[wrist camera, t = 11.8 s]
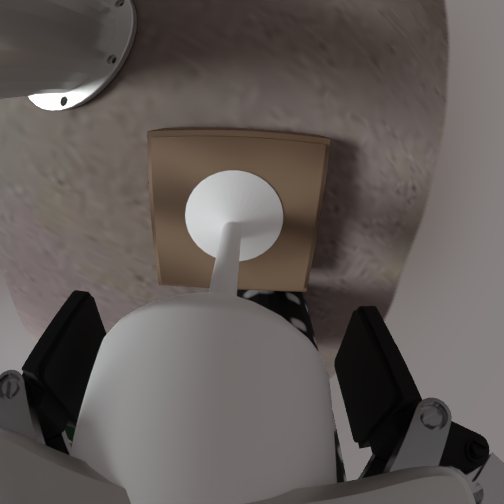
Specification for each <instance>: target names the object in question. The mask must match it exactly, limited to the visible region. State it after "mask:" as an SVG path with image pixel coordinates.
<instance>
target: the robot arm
mask: <svg viewBox="0 0 504 504" xmlns="http://www.w3.org/2000/svg"><path fill="white" fill-rule="evenodd" d="M136 30H137V15H136V10H135V6H134V4H133V2H132V0H0V99H3V98H12V97H21V96H28V97H29V98H30V100H31V101H32V102H33V103H34V104H35V105H36V106H38V107H40V108H42V109H44V110H48V111H63V110H69V109H73V108H75V107H78V106H80V105H83V104H84V103H86V102H88V101H89V100H91V99H93V98H94V97H95V96H96V95H97V94H99V93H100V92H101V91H102V90H103V89H104V88H105V87H106V86H107V85H108V84H109V83H110V82H111V81H112V80H113V79H114V77H115V76H116V74H117V73H118V72H119V70H120V69H121V68H122V66H123V64H124V62H125V60H126V58H127V57H128V55H129V53H130V50H131V47H132V45H133V42H134V38H135V34H136ZM115 59H116V62H115V63H114V61H115ZM105 336H106V332H105V329H104V326H103V324H102V321H101V318H100V315H99V312H98V309H97V306H96V303H95V300H94V298H93V297H92V296H91V295H90V293H89V292H85V291H77V290H76V291H74V292H72V294H71V295H70V296H69V298H68V299H67V300H66V302H65V303H64V305H63V306H62V307H61V309H60V310H59V311H58V313H57V314H56V316H55V317H54V319H53V320H52V321H51V323H50V324H49V326H48V327H47V329H46V330H45V332H44V333H43V335H42V336H41V338H40V339H39V341H38V342H37V344H36V346H35V347H34V349H33V351H32V352H31V354H30V355H29V357H28V359H27V360H26V362H25V364H24V365H23V367H22V370H23V374H22V375H21V374H20V373H19V372H18V371H15V370H8V371H5V372H3V373H2V374H1V375H0V504H131V503H130V500H129V497H128V494H127V492H126V489H124V488H122V487H120V486H118V485H116V484H114V483H112V482H110V481H109V480H108V479H106V478H105V477H103V476H102V475H101V474H99V473H98V472H97V471H95V470H94V469H92V468H91V467H90V466H89V465H88V464H87V463H86V462H85V461H83V460H80V459H78V458H75V457H72V456H70V452H71V445H70V443H69V440H68V437H67V435H66V432H65V427H66V425H68V426H71V427H73V428H76V425H77V421H78V417H79V413H80V410H81V406H82V402H83V399H84V395H85V392H86V388H87V385H88V382H89V379H90V375H91V372H92V369H93V366H94V363H95V360H96V357H97V354H98V351H99V349H100V346H101V343H102V341H103V338H104V337H105ZM335 370H336V374H337V377H338V381H339V385H340V389H341V392H342V396H343V400H344V404H345V408H346V412H347V416H348V419H349V424H350V428H351V432H352V436H353V439H354V441H355V442H358V444H359V448H365V447H370V446H371V450H372V453H373V455H372V456H371V458H370V460H369V462H368V463H367V465H366V467H365V469H364V470H363V472H362V473H361V475H360V477H359V478H358V479H357V480H352V481H347V482H341V483H335V484H328V485H322V486H314V487H306V488H296V489H293V490H291V491H288V492H286V493H283V494H281V495H278V496H276V497H273V498H269V499H265V500H261V501H256V502H251V503H246V504H504V463H503V462H502V461H501V460H500V459H499V458H498V457H497V456H496V455H495V454H493V453H491V454H489V445H488V443H487V440H486V439H485V438H484V437H483V436H481V435H480V434H478V433H476V432H473V431H471V430H469V429H467V428H465V427H463V426H461V425H459V424H457V423H454V422H452V421H451V412H450V410H449V408H448V406H447V405H446V404H445V403H444V402H443V401H441V400H439V399H437V398H427V399H424V400H422V398H421V396H420V394H419V391H418V389H417V387H416V385H415V383H414V380H413V378H412V376H411V374H410V372H409V370H408V367H407V365H406V363H405V361H404V359H403V357H402V355H401V353H400V351H399V349H398V347H397V345H396V344H395V342H394V340H393V338H392V336H391V334H390V332H389V330H388V328H387V326H386V325H385V323H384V321H383V319H382V317H381V315H380V313H379V311H378V310H377V308H376V307H375V306H360V307H359V308H358V309H357V310H355V311H354V312H353V314H352V317H351V319H350V322H349V325H348V328H347V330H346V333H345V336H344V338H343V341H342V343H341V346H340V348H339V351H338V353H337V356H336V358H335Z"/></svg>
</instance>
